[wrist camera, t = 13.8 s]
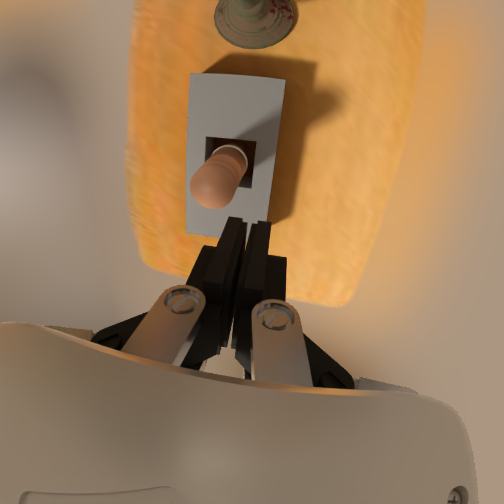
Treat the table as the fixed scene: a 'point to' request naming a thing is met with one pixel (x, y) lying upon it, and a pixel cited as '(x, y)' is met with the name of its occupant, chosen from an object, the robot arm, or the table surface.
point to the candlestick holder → (253, 22)
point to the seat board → (234, 127)
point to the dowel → (220, 176)
